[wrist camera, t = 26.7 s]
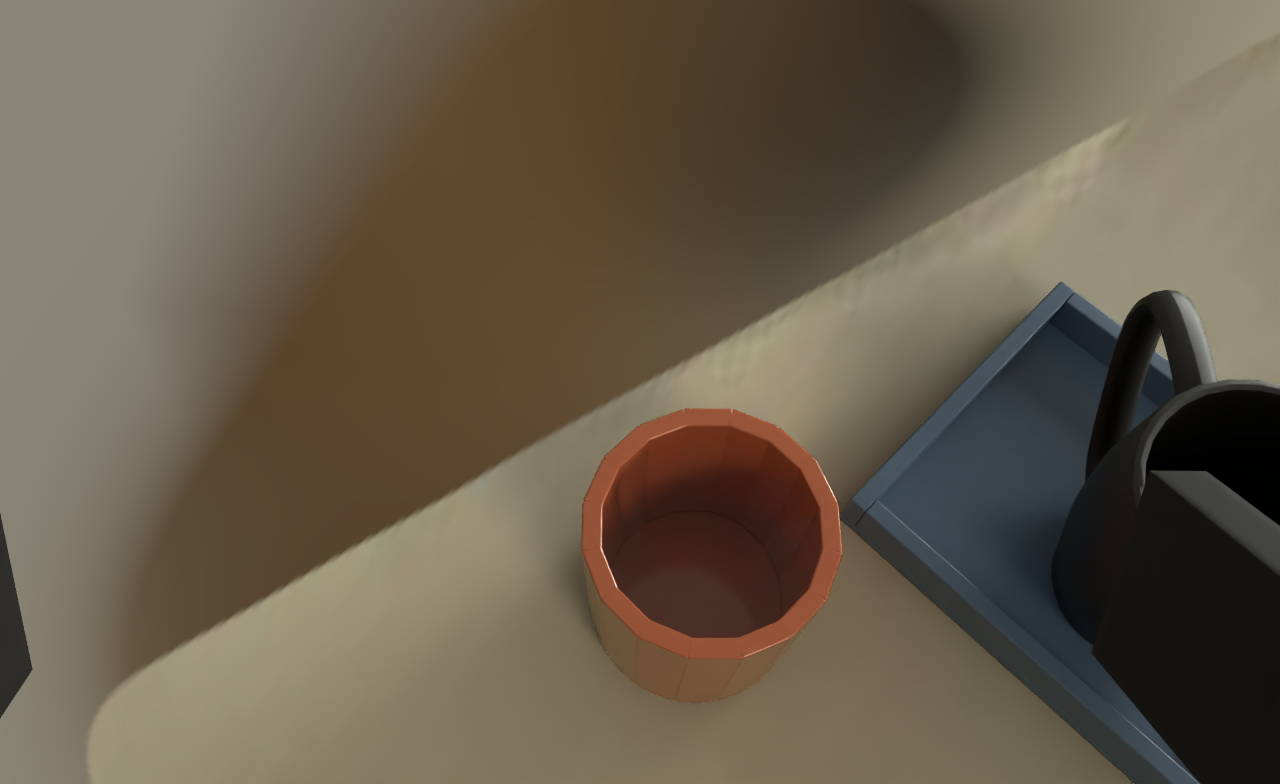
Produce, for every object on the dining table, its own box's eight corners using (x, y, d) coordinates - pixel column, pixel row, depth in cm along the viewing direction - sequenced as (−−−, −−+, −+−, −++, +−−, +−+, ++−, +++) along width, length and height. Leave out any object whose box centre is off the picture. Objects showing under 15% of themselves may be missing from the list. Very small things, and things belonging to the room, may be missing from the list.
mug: (1166, 387, 40) (1312, 262, 32) (1270, 689, 35) (1477, 637, 27) (969, 403, 40) (1063, 279, 31) (1046, 710, 35) (1183, 664, 26)
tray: (838, 517, 38) (850, 498, 36) (1040, 308, 43) (1061, 280, 41) (1204, 846, 34) (1243, 846, 32) (1392, 575, 38) (1437, 559, 36)
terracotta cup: (549, 596, 37) (527, 525, 29) (690, 463, 39) (707, 362, 31) (695, 749, 35) (716, 718, 27) (835, 599, 37) (894, 528, 29)
